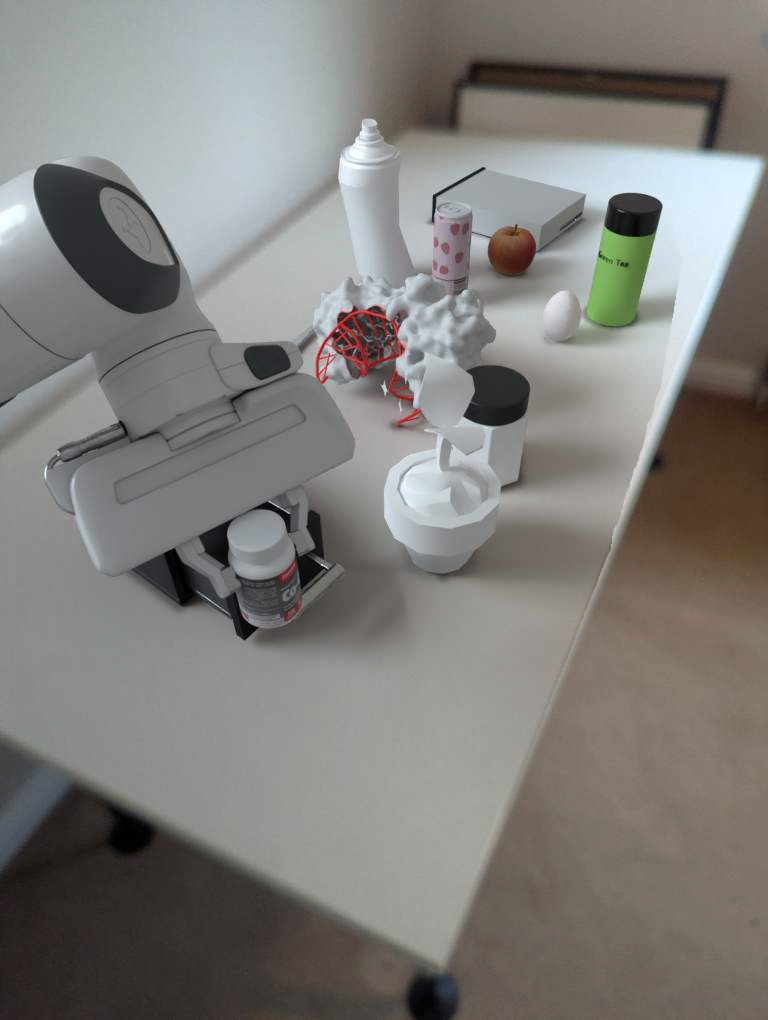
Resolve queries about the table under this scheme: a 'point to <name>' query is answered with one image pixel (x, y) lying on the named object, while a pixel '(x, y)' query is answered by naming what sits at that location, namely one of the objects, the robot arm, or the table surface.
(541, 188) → the disc drive
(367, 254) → the spray can
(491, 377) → the jar
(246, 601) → the pill bottle
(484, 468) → the potted plant
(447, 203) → the beverage can
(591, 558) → the table surface
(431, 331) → the molecular structure model
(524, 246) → the apple
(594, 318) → the tumbler
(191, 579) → the drawer
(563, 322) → the egg
